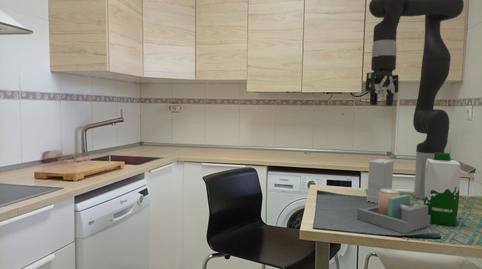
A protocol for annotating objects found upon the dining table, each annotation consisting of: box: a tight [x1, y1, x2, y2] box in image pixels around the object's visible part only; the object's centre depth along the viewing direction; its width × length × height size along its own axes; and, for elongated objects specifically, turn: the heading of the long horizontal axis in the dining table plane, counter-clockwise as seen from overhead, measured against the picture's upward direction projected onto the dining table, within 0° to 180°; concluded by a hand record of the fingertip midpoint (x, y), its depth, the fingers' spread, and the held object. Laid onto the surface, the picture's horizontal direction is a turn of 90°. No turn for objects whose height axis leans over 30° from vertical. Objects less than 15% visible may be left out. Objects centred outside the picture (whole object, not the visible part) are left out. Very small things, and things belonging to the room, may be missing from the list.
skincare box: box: [366, 158, 395, 204], centre depth 127 cm, size 8×6×15 cm
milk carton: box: [423, 152, 462, 227], centre depth 104 cm, size 9×9×20 cm
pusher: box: [388, 194, 411, 220], centre depth 100 cm, size 9×3×7 cm, turn 124°
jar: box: [377, 188, 400, 216], centre depth 104 cm, size 6×6×9 cm
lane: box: [356, 203, 431, 235], centre depth 103 cm, size 12×15×6 cm
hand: (381, 105), depth 118 cm, fingers open, 8 cm apart
